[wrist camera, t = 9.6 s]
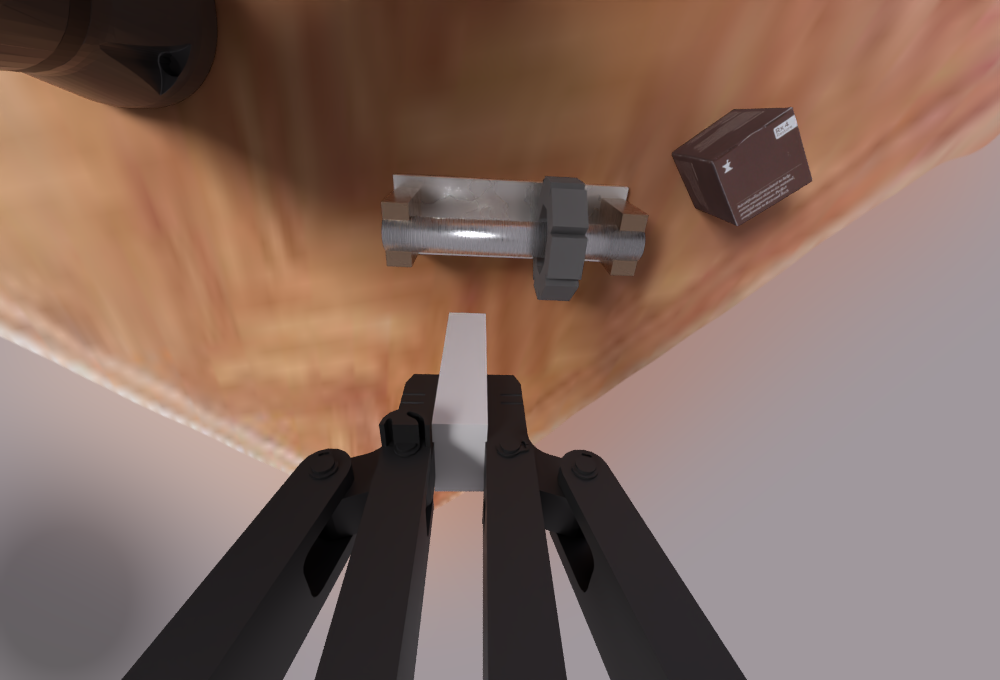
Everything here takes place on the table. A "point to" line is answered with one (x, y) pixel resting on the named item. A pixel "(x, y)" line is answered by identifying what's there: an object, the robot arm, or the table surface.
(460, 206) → the pipe rig
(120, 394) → the table surface
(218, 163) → the table surface
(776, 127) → the box
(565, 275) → the grey hex nut
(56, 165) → the table surface
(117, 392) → the table surface
